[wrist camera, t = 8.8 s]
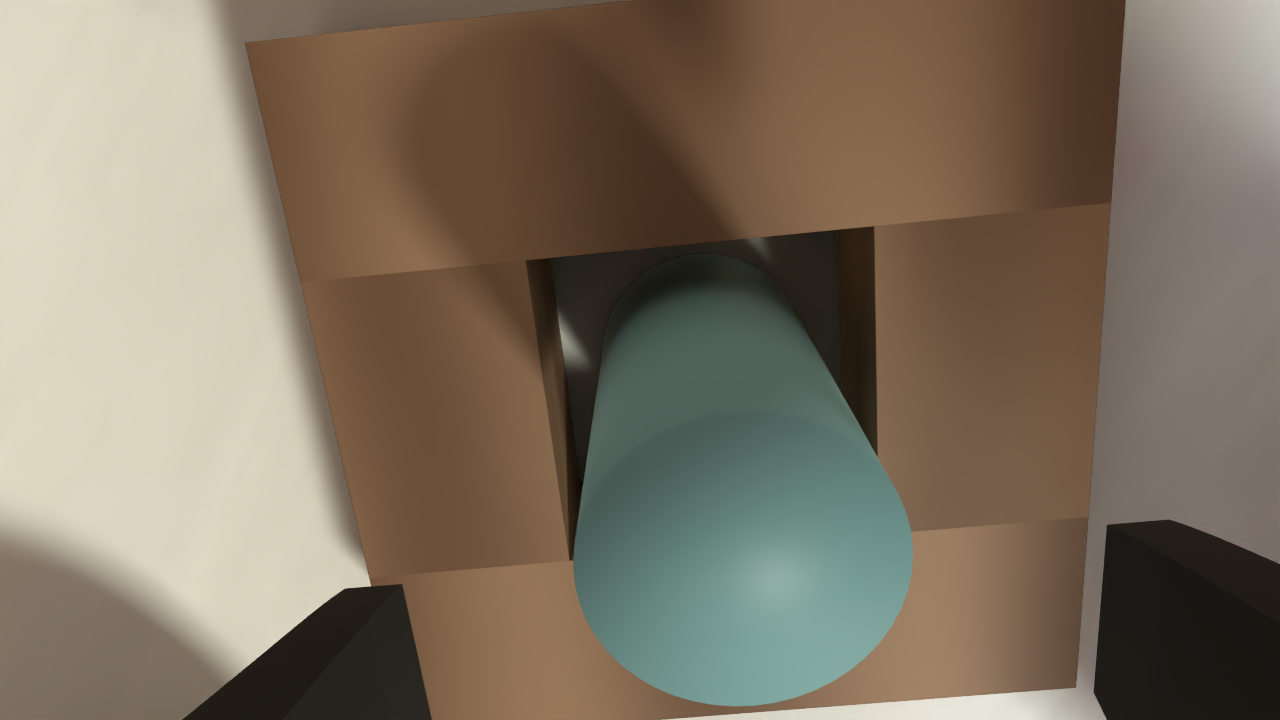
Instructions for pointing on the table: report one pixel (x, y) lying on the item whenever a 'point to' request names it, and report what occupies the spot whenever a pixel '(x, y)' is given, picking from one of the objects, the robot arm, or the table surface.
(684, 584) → the peg
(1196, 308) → the table surface
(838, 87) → the socket
